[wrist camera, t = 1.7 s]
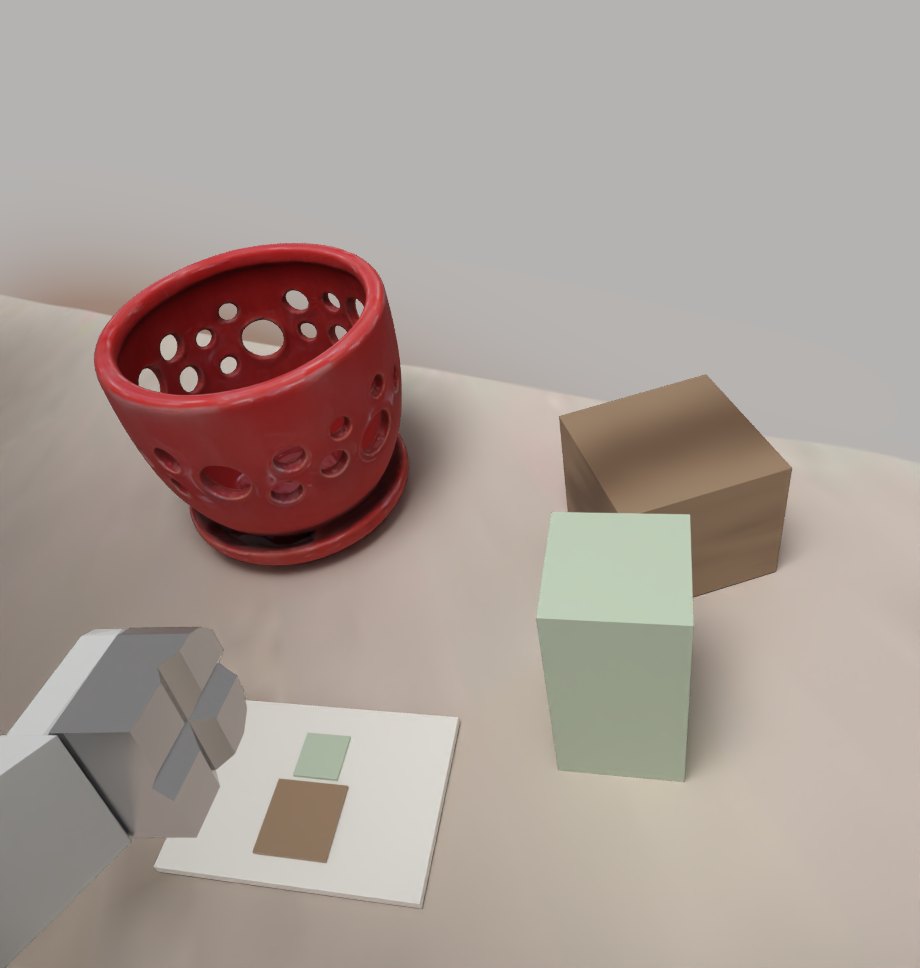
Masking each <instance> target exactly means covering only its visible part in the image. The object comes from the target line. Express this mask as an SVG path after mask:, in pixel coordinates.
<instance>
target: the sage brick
mask: <svg viewBox="0 0 920 968" xmlns="http://www.w3.org/2000/svg"><path fill="white" fill-rule="evenodd" d="M536 621H537V628H538V635H539V642H540V648H541V655H542V662H543V669H544V676H545V683H546V689H547V696H548V703H549V710H550V717H551V723H552V730H553V737H554V744H555V751H556V758H557V764H558V770H561V771H572V772H583V773H593V774H604V775H615V776H625V777H636V778H647V779H657V780H668V781H679V782H684V778H685V761H686V744H687V728H688V711H689V694H690V677H691V660H692V643H693V627H694V625H693V593H692V561H691V529H690V514H637V513H582V512H551V518H550V524H549V531H548V538H547V545H546V552H545V559H544V566H543V573H542V580H541V587H540V594H539V601H538V608H537V615H536Z"/></svg>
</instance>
